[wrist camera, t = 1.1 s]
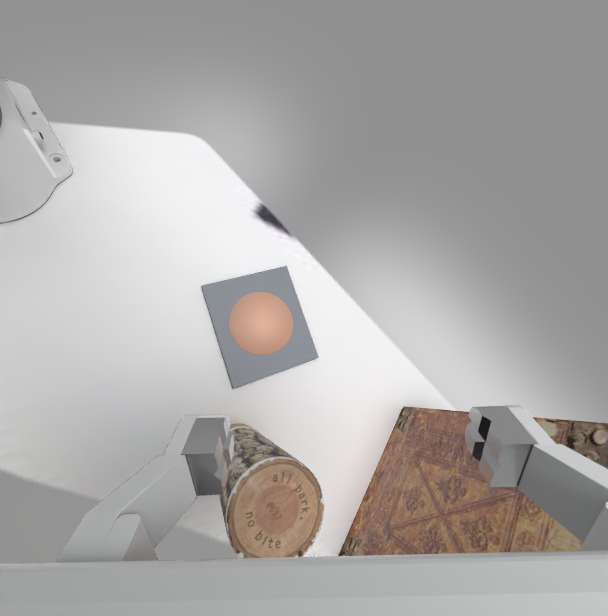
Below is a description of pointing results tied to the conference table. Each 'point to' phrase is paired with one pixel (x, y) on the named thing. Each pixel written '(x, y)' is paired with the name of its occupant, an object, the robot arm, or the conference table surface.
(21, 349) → the conference table surface
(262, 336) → the card
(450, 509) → the book
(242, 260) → the conference table surface
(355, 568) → the robot arm
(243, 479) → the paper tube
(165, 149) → the conference table surface
